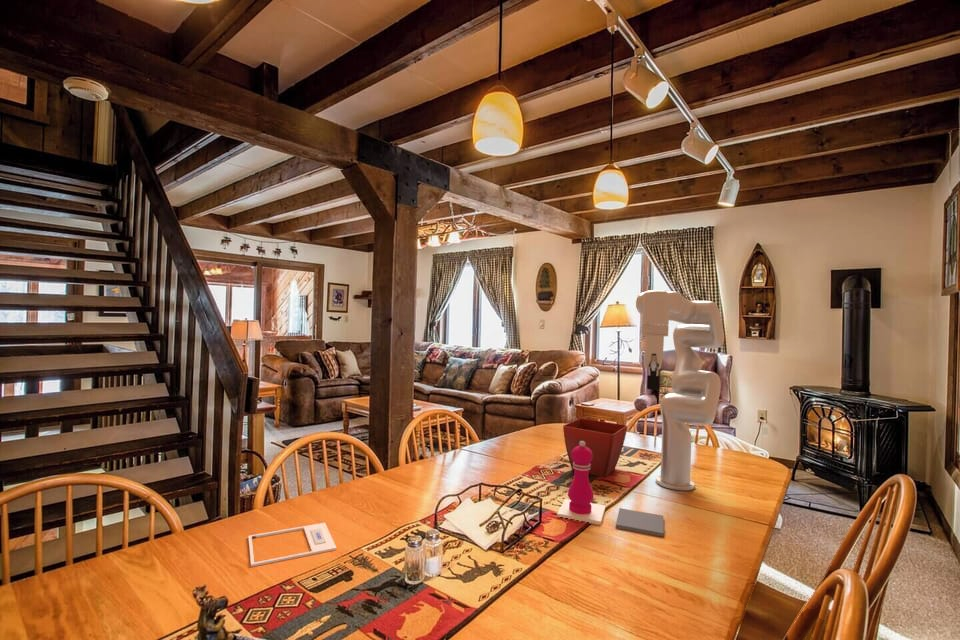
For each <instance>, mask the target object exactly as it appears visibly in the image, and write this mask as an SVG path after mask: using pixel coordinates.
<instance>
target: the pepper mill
mask: <svg viewBox="0 0 960 640" xmlns="http://www.w3.org/2000/svg"><path fill="white" fill-rule="evenodd" d="M579 445H580V446H577V447H575V448H574V449H573V450H572V454H571V456H572V459H573V460H574V462H573V468H574V470H573V471H574V475H573V479H572V482H571V484H570V485H569V488H568V490H567V491H568V492H567V498H568V499H570V500H571V502H570V503H569V509H570V511H572V512H574V513H577V514H589V513H590V512H591V504H590V503H592V501H593V500H594V490H593V488H592V485H591V483H590V480H589V474H588V473H589V470H590V466H591V465H590V462H591V461H592V458H593V454H592V451H591V450H590V449H589V448H588V447H585V445H586V444H585V442H584V441H580V443H579Z"/></svg>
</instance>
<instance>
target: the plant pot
mask: <svg viewBox="0 0 960 640" xmlns="http://www.w3.org/2000/svg"><path fill="white" fill-rule="evenodd" d="M562 430H563V437H564V444H565V448H566V452H567V453H566V454H567V457H568V461H569V464H570V467H571V469H572V471H574V468H573V462H574V460H573V459H572V456H571V454H572V450H573V449H574V448H575V447H577V446H580V445H579V443H580V441H584V442H585V444H586V445H585V447H588V448H589V449H590V450H591V451H592V454H593V458H592V461H591V462H590V465H591V466H590V470H589V473H588V475H591V476H597V477H599V478H600V477H601V478H606V477H607V476H609V474H611V473H612V472H614V471H615V469H616V467H617V465H618V463H619V459H620V456H621V453H622V450H623V446H624V443H625V440H626V435H627V430H628V425H625V424H620V423H615V422H614V423H613V422H608V421H603V420H595V419H588V418H582V417H581V418H578V419H575V420H572V421H570V422H568V423H566V424H564V425H562Z"/></svg>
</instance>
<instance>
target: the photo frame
mask: <svg viewBox="0 0 960 640" xmlns="http://www.w3.org/2000/svg"><path fill="white" fill-rule="evenodd" d="M303 530H304V533H305V534H304V535H305V536H306V539H307V542H308V546H309V548H310V551H305V552H301V553H296V554H290V555H286V556H281V557H275V558H270V559H266V560H261V561H255V559H254V558H255V556H254V547H253V538H262V537H268V536H274V535H281V534H285V533H289V532H290V533H291V532H296V531H303ZM247 538H248V539H247V540H248V548H249V551H248V552H249V560H250V561H249V562H250V568H252V567H257V566H261V565H262V566H263V565H266V564H267V565H268V564H272V563H277V562H282V561H287V560H292V559H297V558H302V557H308V556H313V555H319V554H322V553H327V552H332V551H336V550H337V546H336V544H335V541H334V539H333V537H332V535H331V533H330V530H329V529H328V526H327V524H326V522H320V523H315V524H309V525H303V526H297V527H292V528H291V527H290V528H286V529H278V530H275V531H274V530H273V531H270V532H269V531H267V532H261V533H256V534H251V535H248V536H247Z"/></svg>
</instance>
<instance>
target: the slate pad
mask: <svg viewBox="0 0 960 640" xmlns="http://www.w3.org/2000/svg"><path fill="white" fill-rule="evenodd" d="M615 529H620V530H624V531H629V532H634V533H635V532H636V533H640V534H646V535H651V536H658V537H661V538H664V534H665V533H664V515H661V514H657V513H651V512H645V511H639V510H633V509H627V508H623V507H621V508H620V507H619V509H618V514H617V517H616V522H615Z"/></svg>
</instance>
